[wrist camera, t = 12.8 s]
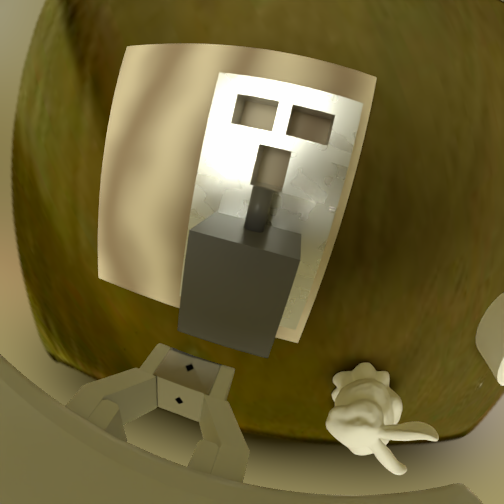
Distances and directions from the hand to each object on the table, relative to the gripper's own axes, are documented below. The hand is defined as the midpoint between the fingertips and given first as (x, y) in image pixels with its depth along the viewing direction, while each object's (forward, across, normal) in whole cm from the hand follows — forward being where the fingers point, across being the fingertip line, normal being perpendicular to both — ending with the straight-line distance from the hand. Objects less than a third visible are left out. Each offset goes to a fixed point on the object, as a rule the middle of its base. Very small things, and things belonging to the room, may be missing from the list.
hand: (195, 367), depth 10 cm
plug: (+12, 0, -1) cm, 12 cm away
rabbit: (+14, -15, +12) cm, 24 cm away
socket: (+12, 0, -4) cm, 13 cm away
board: (+14, +4, -4) cm, 16 cm away
